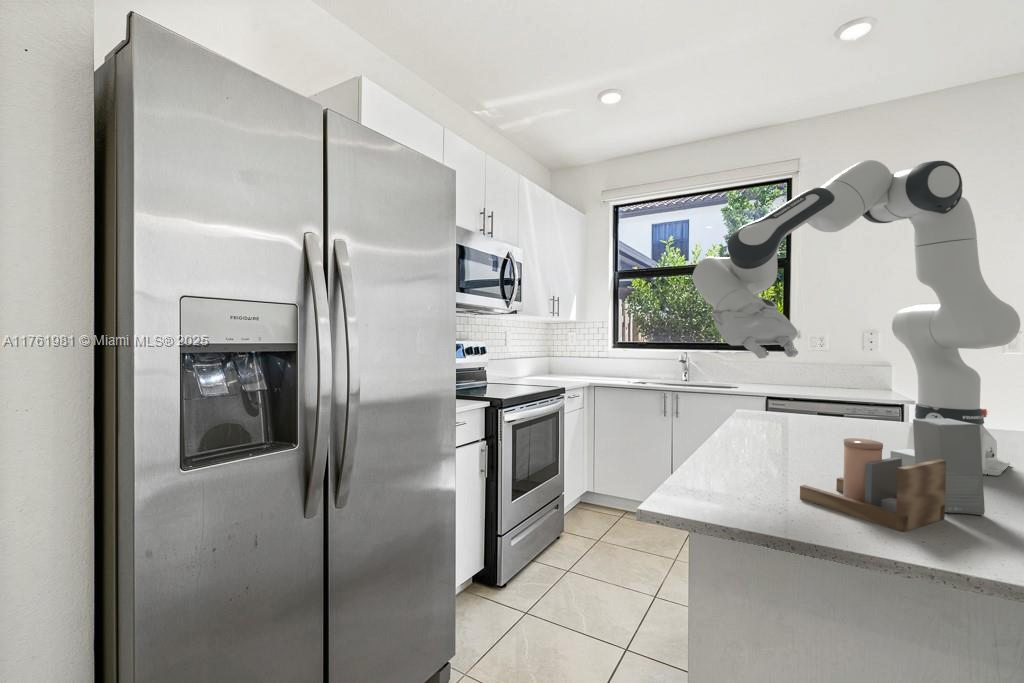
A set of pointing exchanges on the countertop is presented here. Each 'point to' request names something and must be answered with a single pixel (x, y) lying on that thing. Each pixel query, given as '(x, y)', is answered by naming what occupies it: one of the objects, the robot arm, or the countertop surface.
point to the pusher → (882, 483)
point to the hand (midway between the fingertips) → (779, 356)
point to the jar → (858, 465)
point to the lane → (914, 498)
